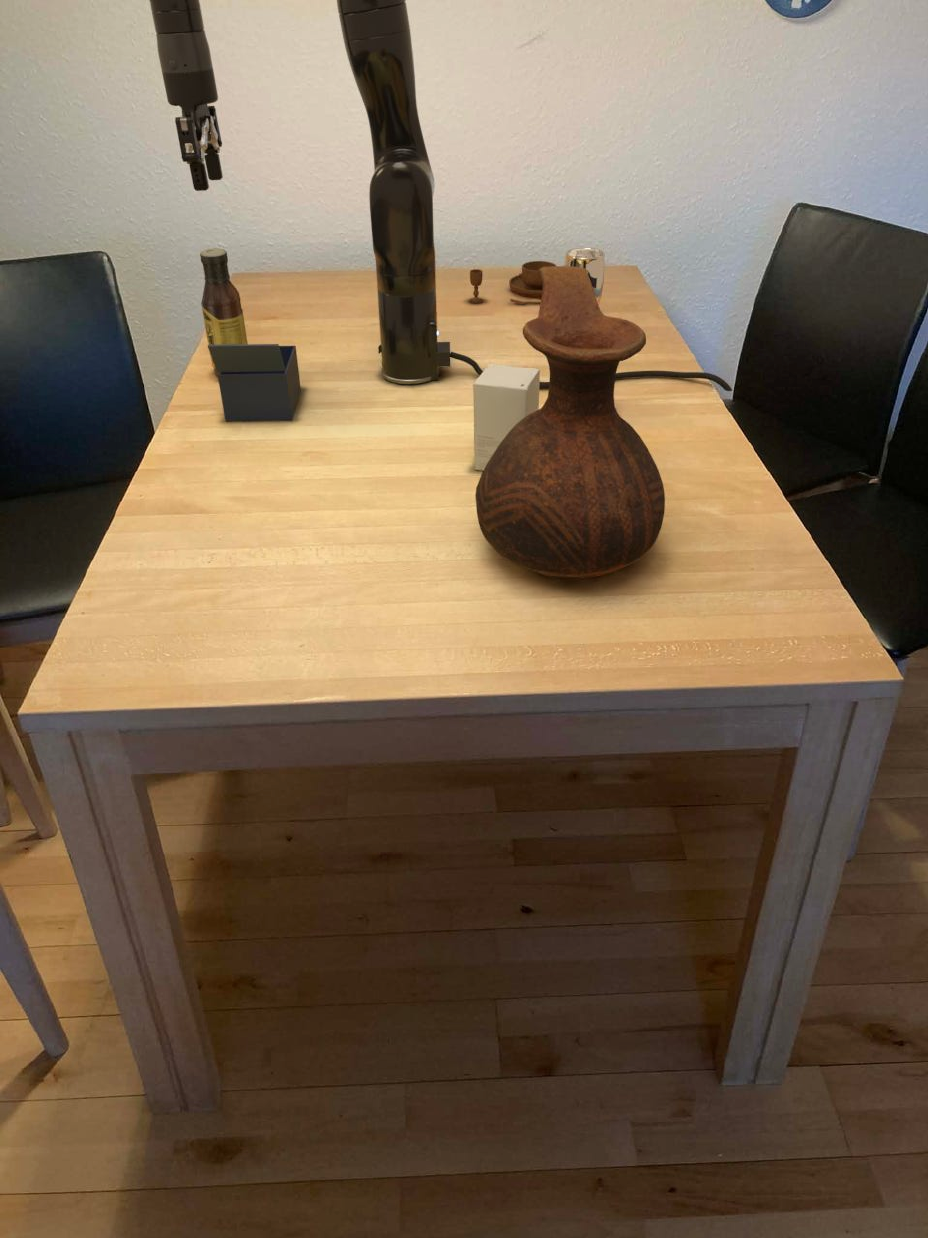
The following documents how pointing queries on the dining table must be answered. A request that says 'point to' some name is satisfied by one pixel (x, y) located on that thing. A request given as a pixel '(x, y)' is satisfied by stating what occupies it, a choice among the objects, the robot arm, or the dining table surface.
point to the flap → (247, 357)
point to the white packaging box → (501, 406)
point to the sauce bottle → (221, 302)
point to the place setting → (517, 281)
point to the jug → (573, 449)
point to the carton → (262, 391)
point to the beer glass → (589, 266)
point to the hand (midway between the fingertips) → (209, 184)
